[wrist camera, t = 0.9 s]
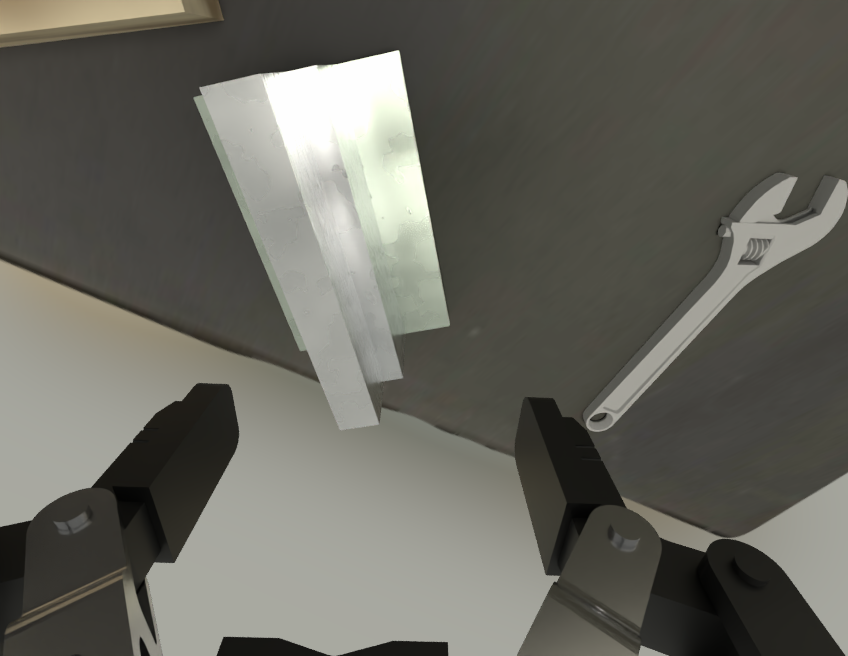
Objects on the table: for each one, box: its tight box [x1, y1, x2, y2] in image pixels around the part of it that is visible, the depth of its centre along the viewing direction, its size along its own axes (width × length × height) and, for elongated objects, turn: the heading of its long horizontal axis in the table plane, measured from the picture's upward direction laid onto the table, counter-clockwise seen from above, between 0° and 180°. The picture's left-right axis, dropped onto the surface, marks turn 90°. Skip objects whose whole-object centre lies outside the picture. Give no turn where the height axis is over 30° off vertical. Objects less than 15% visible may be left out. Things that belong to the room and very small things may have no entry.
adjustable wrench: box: [583, 173, 848, 431], centre depth 34 cm, size 25×6×2 cm, turn 151°
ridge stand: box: [193, 50, 450, 430], centre depth 25 cm, size 18×12×11 cm, turn 11°
